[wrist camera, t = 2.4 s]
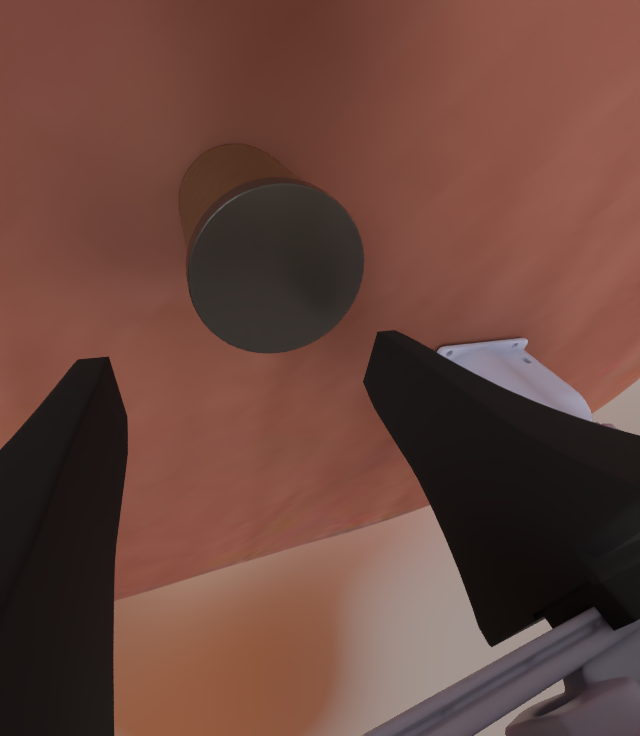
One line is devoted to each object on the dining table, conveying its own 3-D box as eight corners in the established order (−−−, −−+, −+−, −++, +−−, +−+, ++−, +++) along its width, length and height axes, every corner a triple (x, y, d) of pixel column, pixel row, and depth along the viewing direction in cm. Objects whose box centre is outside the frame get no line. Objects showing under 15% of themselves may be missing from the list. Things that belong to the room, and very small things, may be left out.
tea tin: (305, 147, 15) (383, 191, 10) (293, 268, 18) (346, 346, 13) (167, 129, 13) (176, 173, 8) (181, 269, 16) (195, 361, 11)
